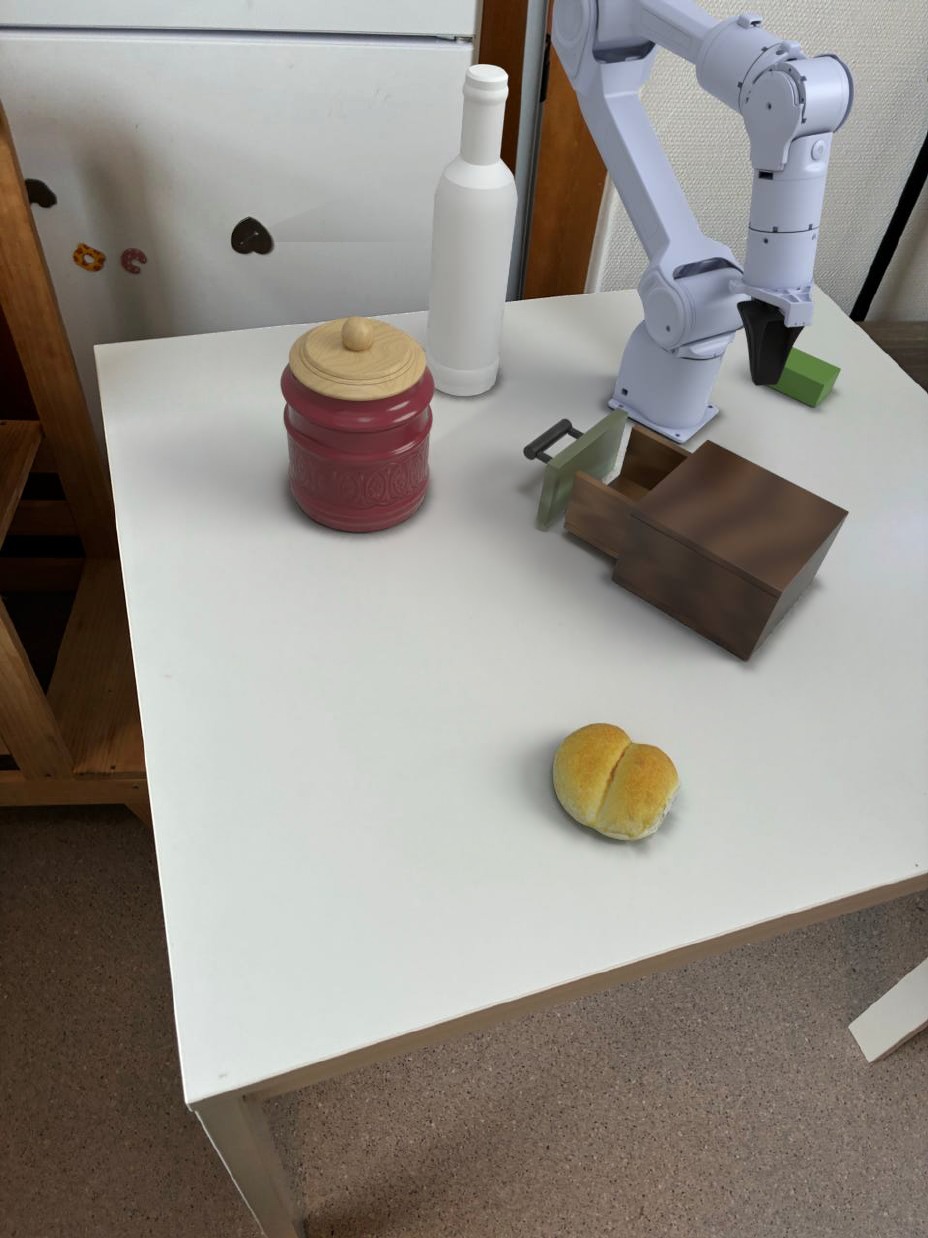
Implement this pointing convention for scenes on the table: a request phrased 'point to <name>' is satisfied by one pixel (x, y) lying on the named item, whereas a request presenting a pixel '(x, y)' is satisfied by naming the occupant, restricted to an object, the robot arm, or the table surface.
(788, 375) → the green block
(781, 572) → the cabinet
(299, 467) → the kitchen canister
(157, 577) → the table surface
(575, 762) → the bread roll
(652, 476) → the drawer
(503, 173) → the bottle
